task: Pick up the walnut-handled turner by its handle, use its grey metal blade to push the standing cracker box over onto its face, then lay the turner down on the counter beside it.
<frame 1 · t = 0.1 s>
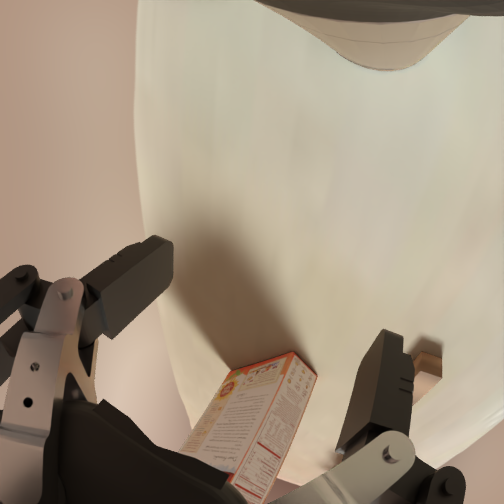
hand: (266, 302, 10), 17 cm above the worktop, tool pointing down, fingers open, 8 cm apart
turner: (407, 382, 32), on the worktop
cracker box: (272, 373, 42), on the worktop
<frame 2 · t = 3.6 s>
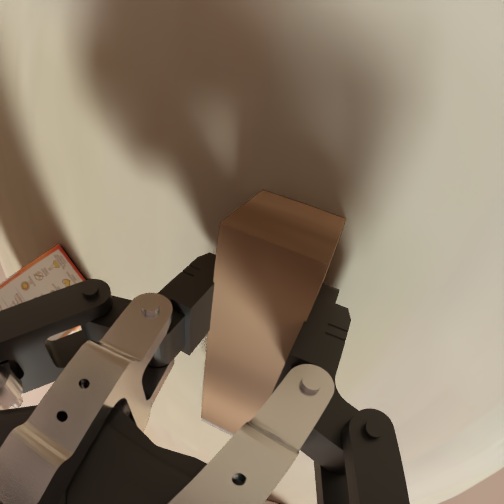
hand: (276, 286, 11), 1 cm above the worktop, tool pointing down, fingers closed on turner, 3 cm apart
turner: (269, 326, 13), on the worktop, touching gripper
cracker box: (70, 304, 23), on the worktop
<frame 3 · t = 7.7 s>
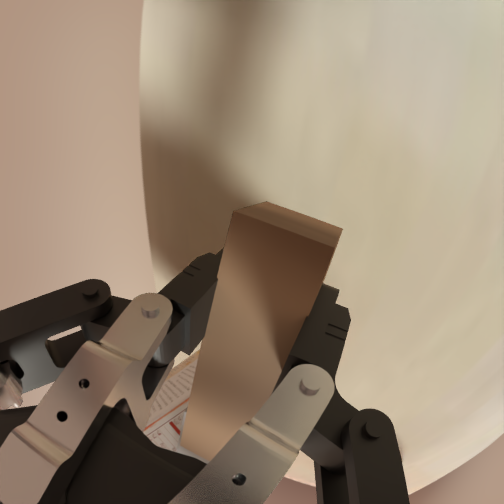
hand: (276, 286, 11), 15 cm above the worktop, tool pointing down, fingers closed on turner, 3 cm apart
turner: (259, 345, 13), point 16 cm above the worktop, tilted 15°, touching cracker box, gripper
cracker box: (278, 338, 31), point 3 cm above the worktop, touching turner
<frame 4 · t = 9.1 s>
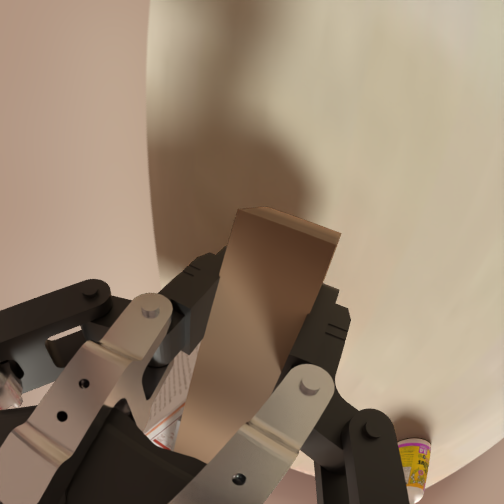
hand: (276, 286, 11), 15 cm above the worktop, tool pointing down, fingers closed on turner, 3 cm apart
turner: (256, 351, 13), point 16 cm above the worktop, tilted 20°, touching cracker box, gripper
supplement bottle: (412, 444, 36), on the worktop
cracker box: (289, 302, 25), point 5 cm above the worktop, touching turner
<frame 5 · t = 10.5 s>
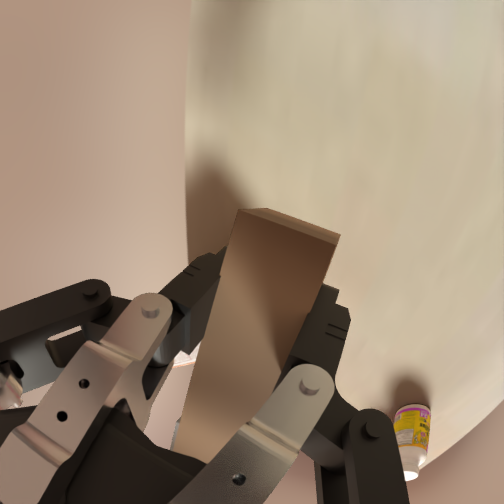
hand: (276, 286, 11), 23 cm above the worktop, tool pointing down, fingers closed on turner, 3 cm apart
turner: (256, 352, 13), point 23 cm above the worktop, tilted 20°, touching gripper
supplement bottle: (413, 411, 42), on the worktop
cracker box: (262, 289, 33), point 7 cm above the worktop
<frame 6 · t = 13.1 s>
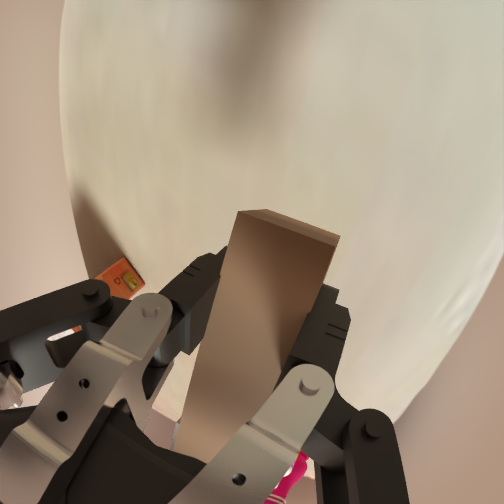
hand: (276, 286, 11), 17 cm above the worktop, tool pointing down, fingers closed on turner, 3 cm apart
pepper mill: (296, 447, 51), on the worktop
turner: (255, 353, 13), point 18 cm above the worktop, tilted 20°, touching gripper
cracker box: (104, 296, 38), point 7 cm above the worktop
when the fingers open (3 cm above the worktop, at t = 15.5 s): turner drops 3 cm, on the worktop.
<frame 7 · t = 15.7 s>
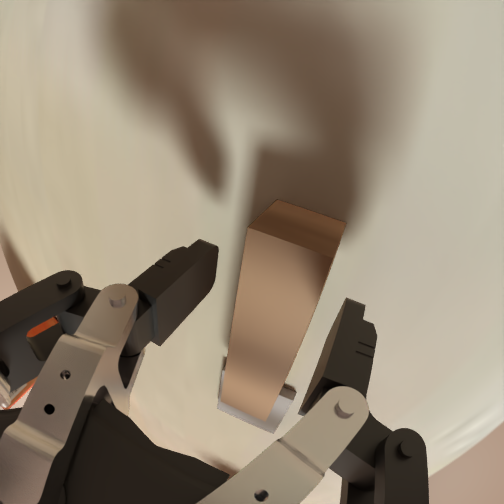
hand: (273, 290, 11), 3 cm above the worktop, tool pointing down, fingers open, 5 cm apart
turner: (281, 314, 15), on the worktop
cracker box: (26, 361, 26), point 7 cm above the worktop
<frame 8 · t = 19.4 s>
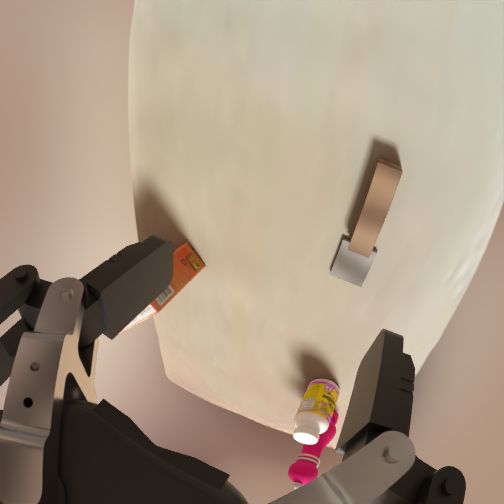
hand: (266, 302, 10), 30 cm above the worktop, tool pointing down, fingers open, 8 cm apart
pepper mill: (325, 413, 61), on the worktop
turner: (375, 204, 36), on the worktop
supplement bottle: (324, 386, 56), on the worktop
cracker box: (175, 274, 47), point 7 cm above the worktop
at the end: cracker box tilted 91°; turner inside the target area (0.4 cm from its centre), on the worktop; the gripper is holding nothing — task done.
